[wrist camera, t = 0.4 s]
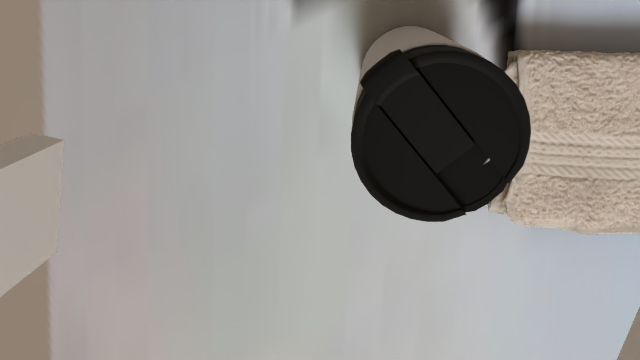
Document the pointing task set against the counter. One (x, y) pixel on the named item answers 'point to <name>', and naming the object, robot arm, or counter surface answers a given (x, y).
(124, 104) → the counter surface
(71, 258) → the counter surface
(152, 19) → the counter surface
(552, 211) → the washcloth
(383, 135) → the travel mug
